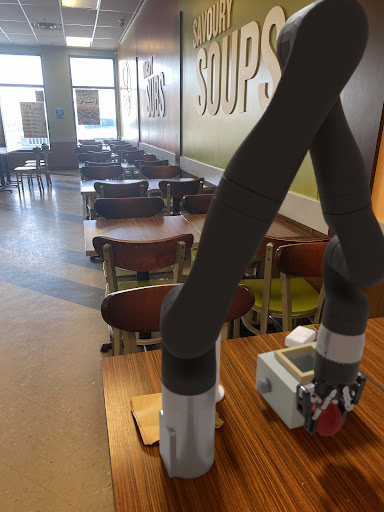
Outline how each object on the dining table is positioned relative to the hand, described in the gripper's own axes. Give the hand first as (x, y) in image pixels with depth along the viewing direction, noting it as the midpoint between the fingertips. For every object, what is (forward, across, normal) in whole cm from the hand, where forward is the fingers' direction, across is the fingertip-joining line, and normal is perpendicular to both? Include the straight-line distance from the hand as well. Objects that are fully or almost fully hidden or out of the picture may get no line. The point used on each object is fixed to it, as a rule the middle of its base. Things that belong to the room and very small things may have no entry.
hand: (324, 426), depth 73 cm
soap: (+6, +20, +33) cm, 39 cm away
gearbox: (+5, +6, +13) cm, 16 cm away
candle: (+6, -13, +23) cm, 27 cm away
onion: (+2, 0, 0) cm, 2 cm away
